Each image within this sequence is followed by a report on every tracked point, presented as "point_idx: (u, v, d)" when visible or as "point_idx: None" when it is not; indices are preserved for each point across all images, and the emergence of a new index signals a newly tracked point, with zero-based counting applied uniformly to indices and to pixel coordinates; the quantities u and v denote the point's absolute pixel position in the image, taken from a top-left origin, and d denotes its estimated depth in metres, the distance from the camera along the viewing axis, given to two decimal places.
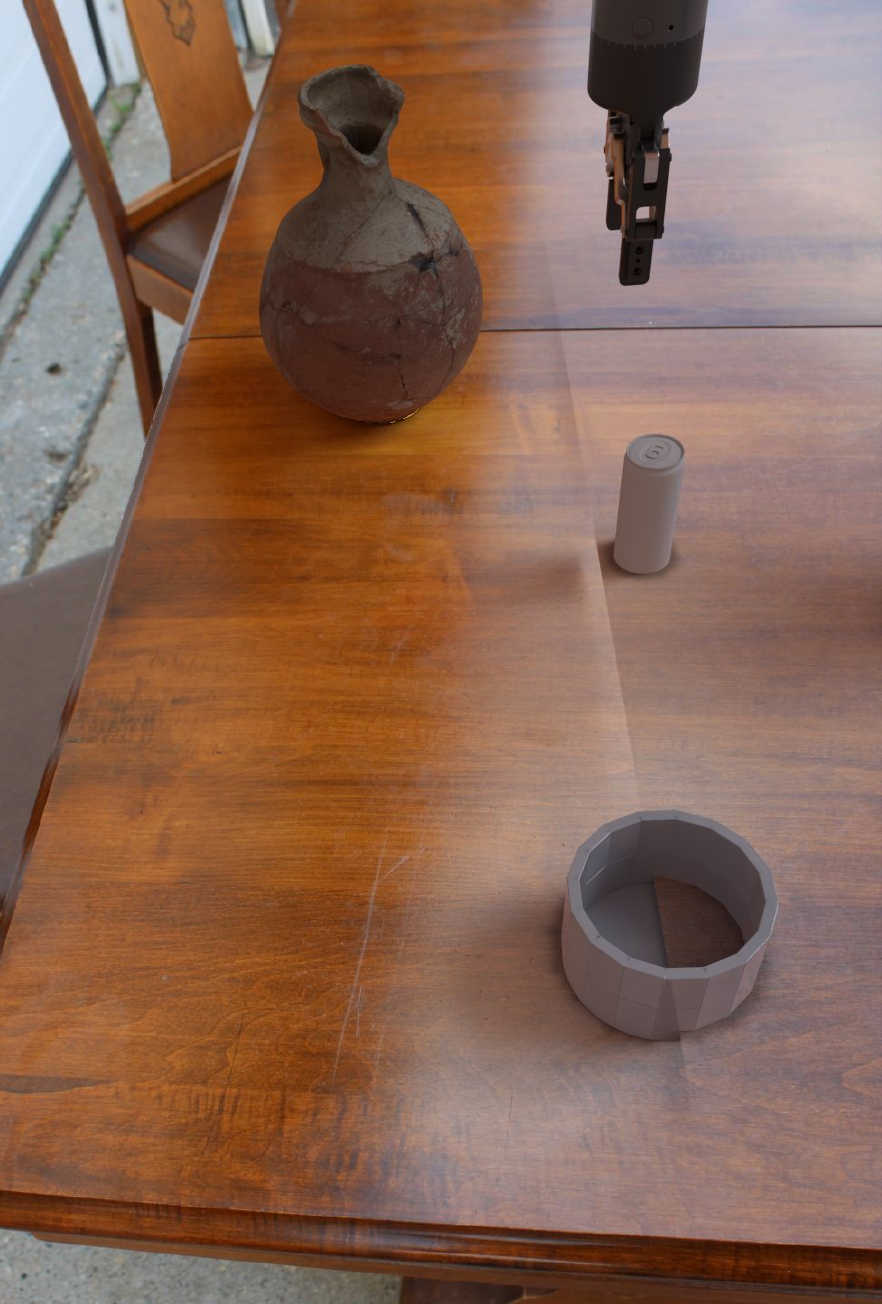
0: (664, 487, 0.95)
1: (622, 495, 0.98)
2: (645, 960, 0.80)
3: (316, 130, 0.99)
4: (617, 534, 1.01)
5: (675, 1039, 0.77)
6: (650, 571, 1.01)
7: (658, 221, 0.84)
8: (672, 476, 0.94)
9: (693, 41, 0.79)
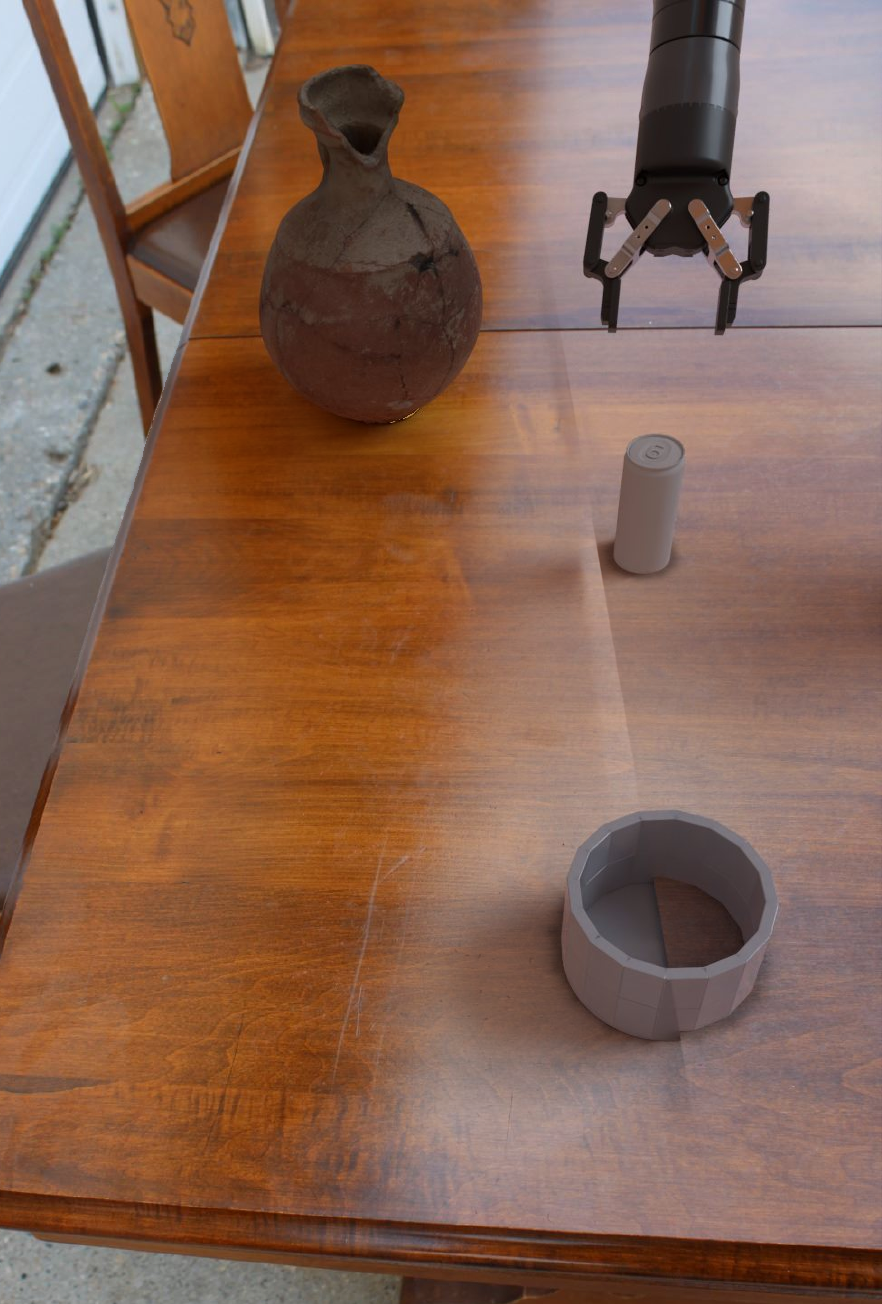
0: (664, 487, 0.95)
1: (622, 495, 0.98)
2: (645, 960, 0.80)
3: (316, 130, 0.99)
4: (617, 534, 1.01)
5: (675, 1039, 0.77)
6: (650, 571, 1.01)
7: (585, 251, 0.97)
8: (673, 476, 0.94)
9: (654, 115, 0.93)
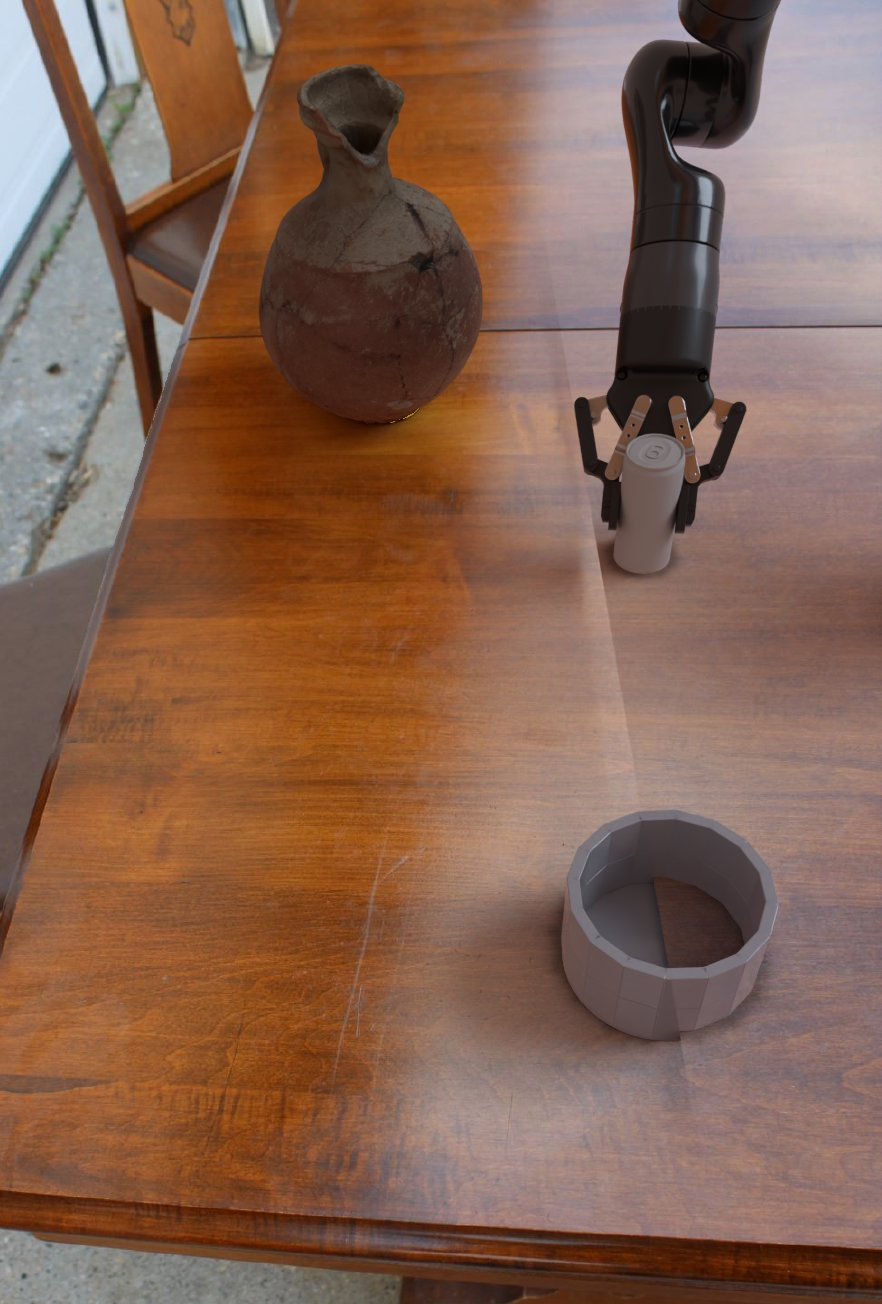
0: (664, 487, 0.95)
1: (622, 495, 0.98)
2: (645, 960, 0.80)
3: (316, 130, 0.99)
4: (617, 534, 1.01)
5: (675, 1039, 0.77)
6: (650, 571, 1.01)
7: (582, 455, 0.98)
8: (672, 476, 0.94)
9: (634, 314, 0.94)
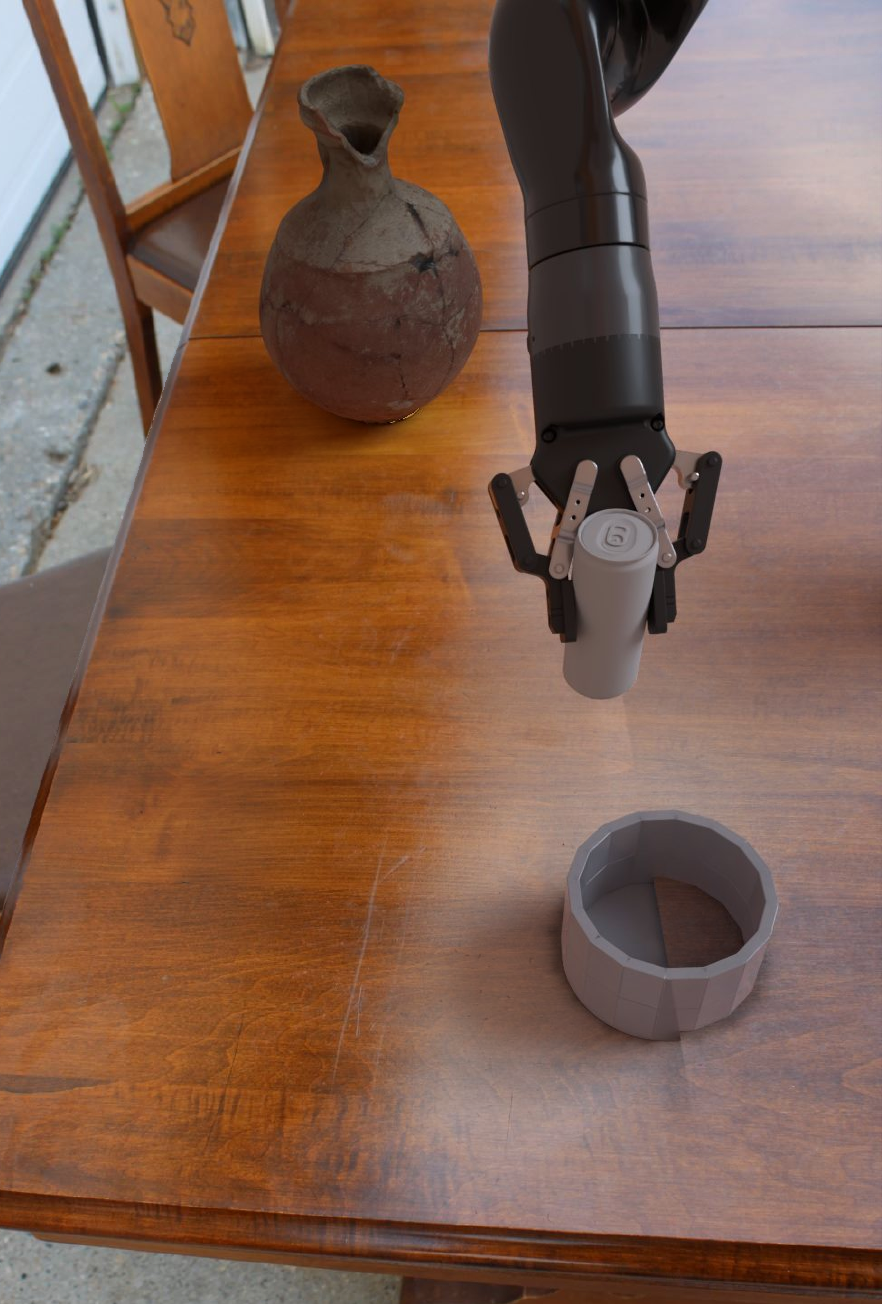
0: (638, 582, 0.69)
1: (577, 597, 0.71)
2: (645, 960, 0.80)
3: (316, 130, 0.99)
4: (571, 644, 0.75)
5: (675, 1039, 0.77)
6: (620, 684, 0.76)
7: (513, 551, 0.71)
8: (648, 567, 0.68)
9: (557, 353, 0.68)
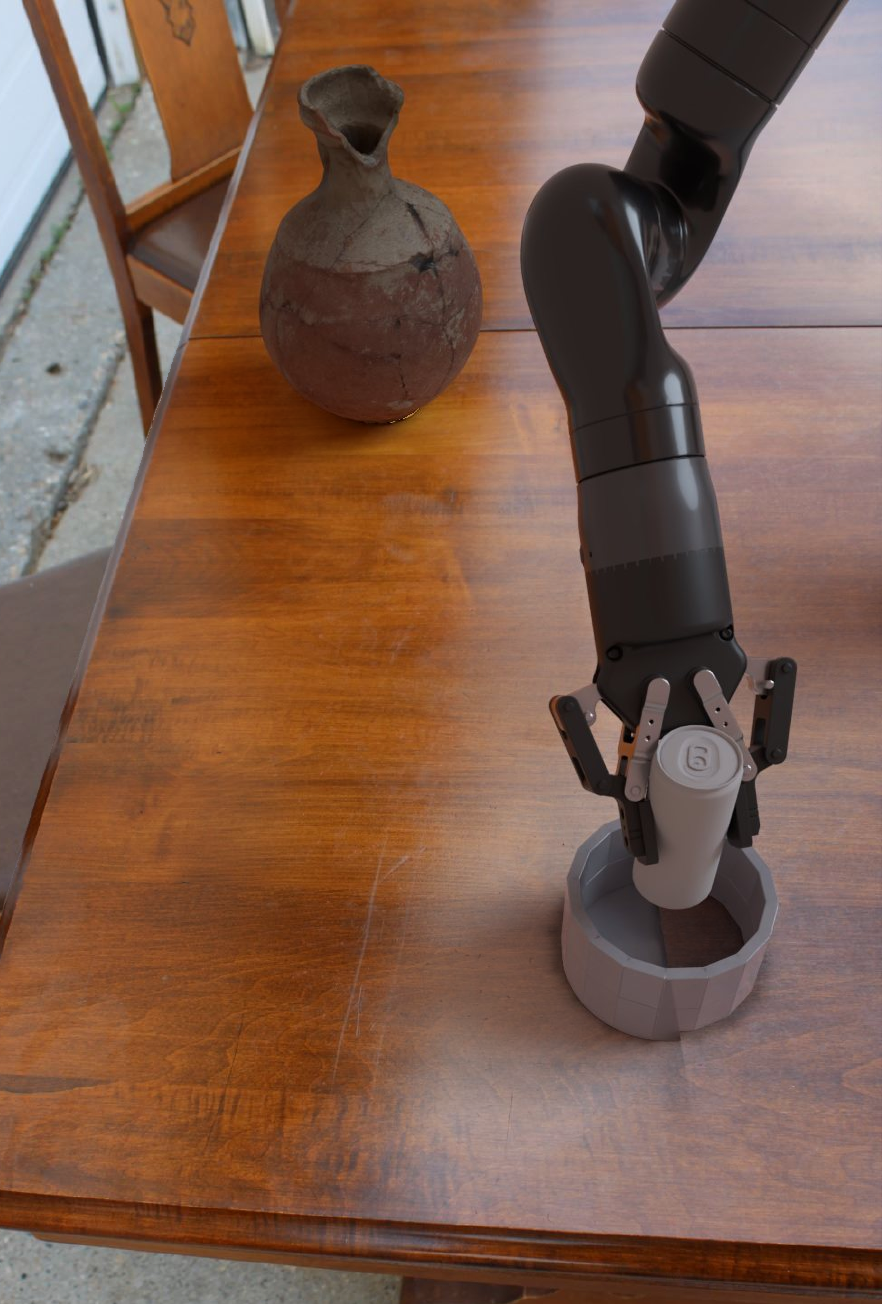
0: (725, 805, 0.65)
1: (656, 818, 0.67)
2: (645, 960, 0.80)
3: (316, 130, 0.99)
4: None
5: (675, 1039, 0.77)
6: (699, 894, 0.71)
7: (585, 775, 0.67)
8: (736, 789, 0.64)
9: (621, 572, 0.64)
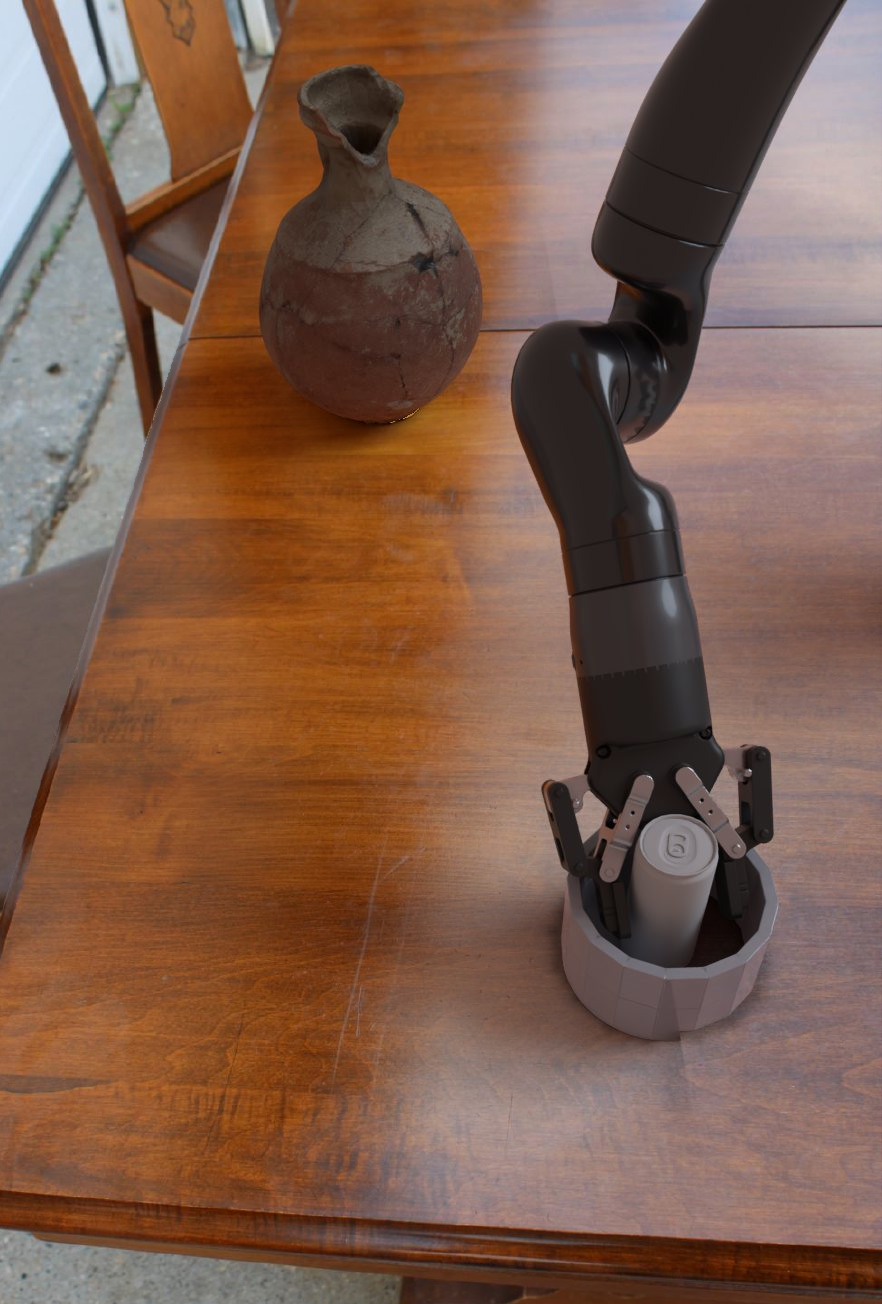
0: (702, 888, 0.71)
1: (640, 898, 0.73)
2: None
3: (316, 130, 0.99)
4: (632, 932, 0.76)
5: (675, 1039, 0.77)
6: (681, 964, 0.78)
7: (564, 856, 0.73)
8: (711, 874, 0.70)
9: (608, 680, 0.70)
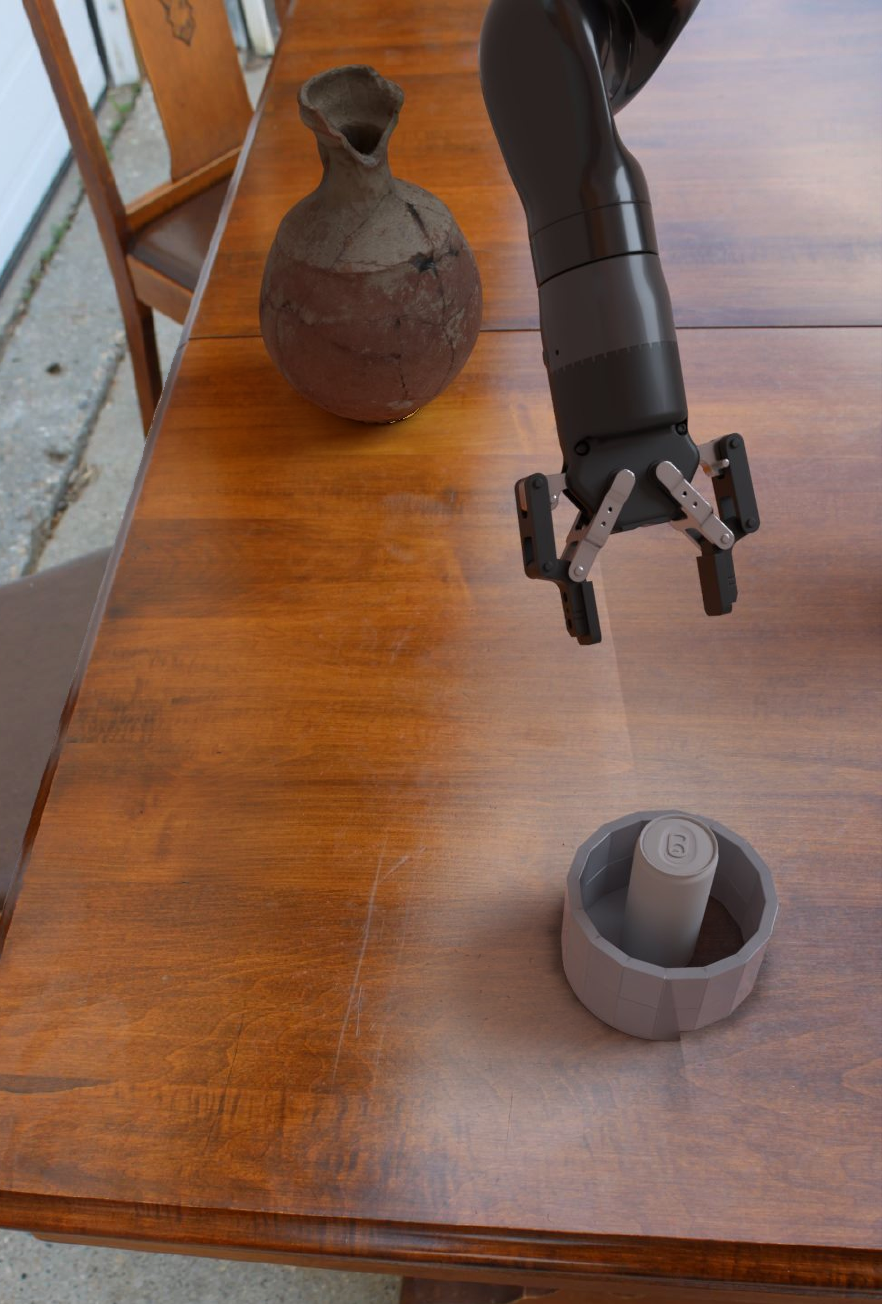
0: (702, 888, 0.71)
1: (640, 898, 0.73)
2: None
3: (316, 130, 0.99)
4: (632, 932, 0.76)
5: (675, 1039, 0.77)
6: (681, 964, 0.78)
7: (534, 553, 0.70)
8: (711, 874, 0.70)
9: (589, 365, 0.67)
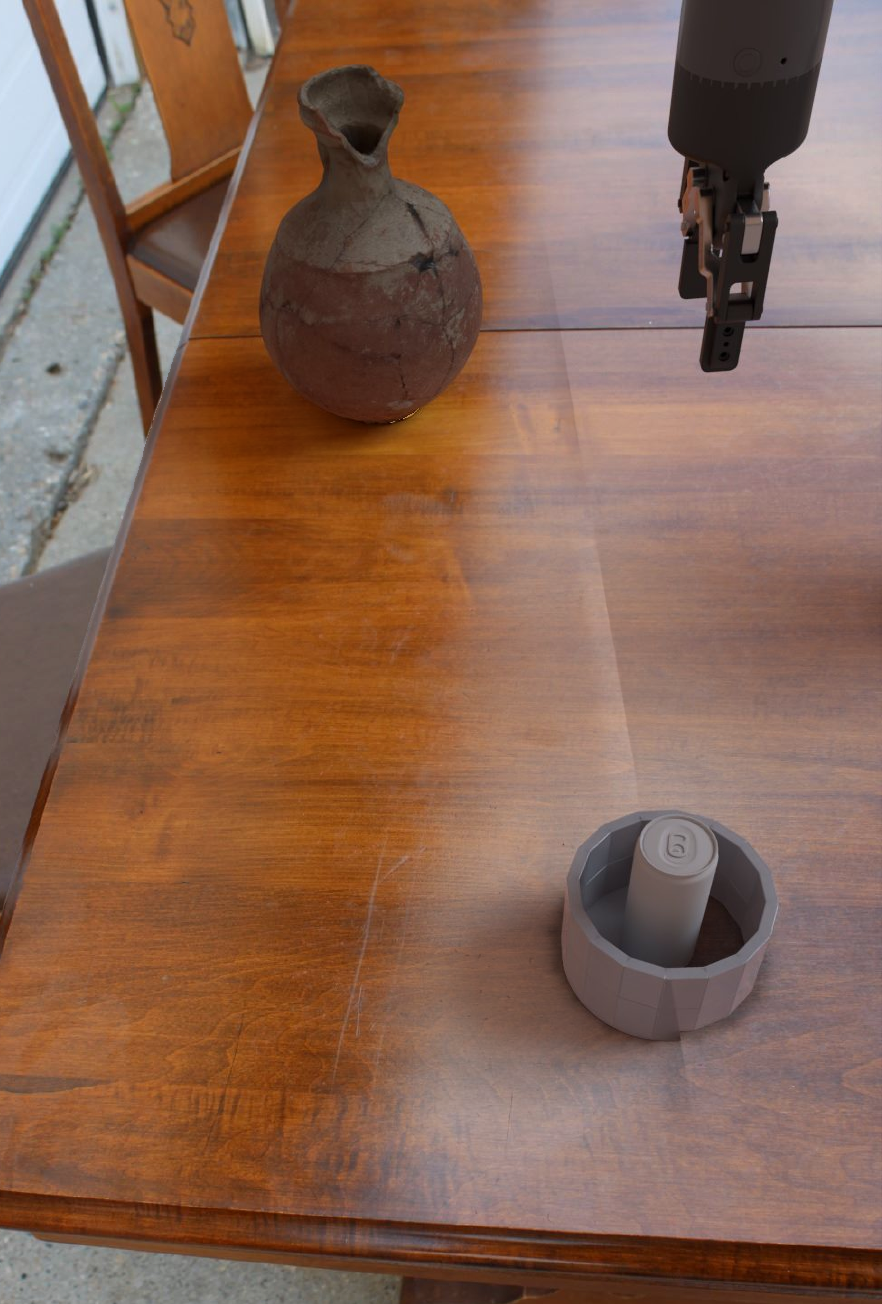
0: (702, 888, 0.71)
1: (640, 898, 0.73)
2: None
3: (316, 130, 0.99)
4: (632, 932, 0.76)
5: (675, 1039, 0.77)
6: (681, 964, 0.78)
7: (757, 299, 0.67)
8: (711, 874, 0.70)
9: (809, 77, 0.62)
